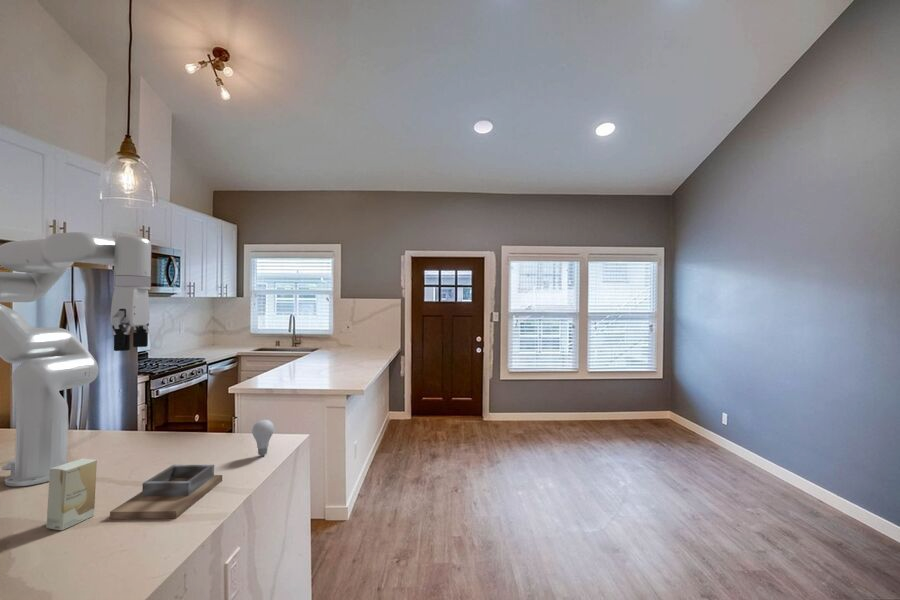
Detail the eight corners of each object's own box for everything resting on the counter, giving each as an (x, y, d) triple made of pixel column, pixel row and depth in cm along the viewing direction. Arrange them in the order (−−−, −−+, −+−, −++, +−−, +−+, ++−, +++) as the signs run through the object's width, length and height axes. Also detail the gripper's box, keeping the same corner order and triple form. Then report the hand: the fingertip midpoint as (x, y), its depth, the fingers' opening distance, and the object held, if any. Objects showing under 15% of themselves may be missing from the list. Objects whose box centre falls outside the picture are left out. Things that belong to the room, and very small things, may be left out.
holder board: (109, 518, 82) (110, 497, 83) (167, 480, 100) (168, 463, 101) (176, 518, 83) (176, 497, 83) (222, 480, 101) (222, 463, 101)
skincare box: (61, 531, 78) (63, 471, 78) (45, 528, 78) (47, 469, 79) (96, 515, 84) (98, 459, 84) (81, 512, 85) (82, 457, 85)
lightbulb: (258, 461, 114) (259, 424, 114) (247, 456, 117) (248, 420, 117) (277, 454, 119) (278, 419, 119) (266, 450, 122) (266, 416, 123)
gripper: (131, 285, 108) (130, 346, 108) (96, 281, 91) (94, 352, 91) (163, 285, 110) (162, 345, 110) (133, 281, 94) (132, 351, 93)
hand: (131, 348), depth 100 cm, fingers open, 9 cm apart
